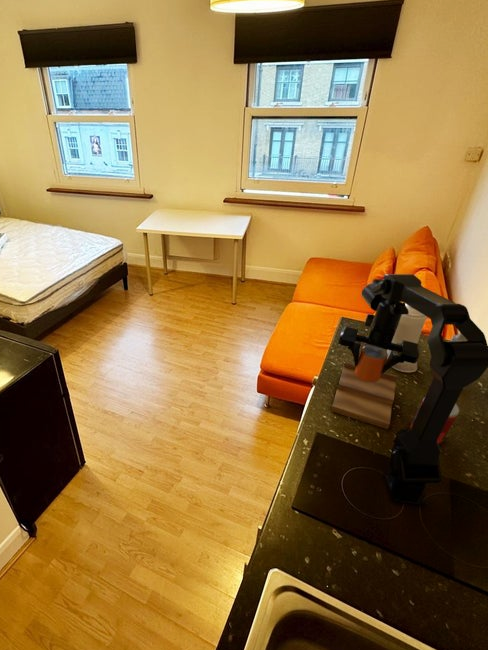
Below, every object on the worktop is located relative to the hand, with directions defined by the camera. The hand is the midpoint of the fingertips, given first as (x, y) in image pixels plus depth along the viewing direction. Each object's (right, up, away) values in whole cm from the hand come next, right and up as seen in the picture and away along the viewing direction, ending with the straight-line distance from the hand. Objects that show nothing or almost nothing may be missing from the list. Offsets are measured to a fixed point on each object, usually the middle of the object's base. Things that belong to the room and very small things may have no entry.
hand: (369, 368), depth 103 cm
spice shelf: (+2, -10, +9) cm, 14 cm away
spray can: (+20, 0, +23) cm, 31 cm away
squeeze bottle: (+33, -4, +18) cm, 37 cm away
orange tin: (0, -2, +1) cm, 2 cm away
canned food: (+14, -18, -2) cm, 23 cm away
